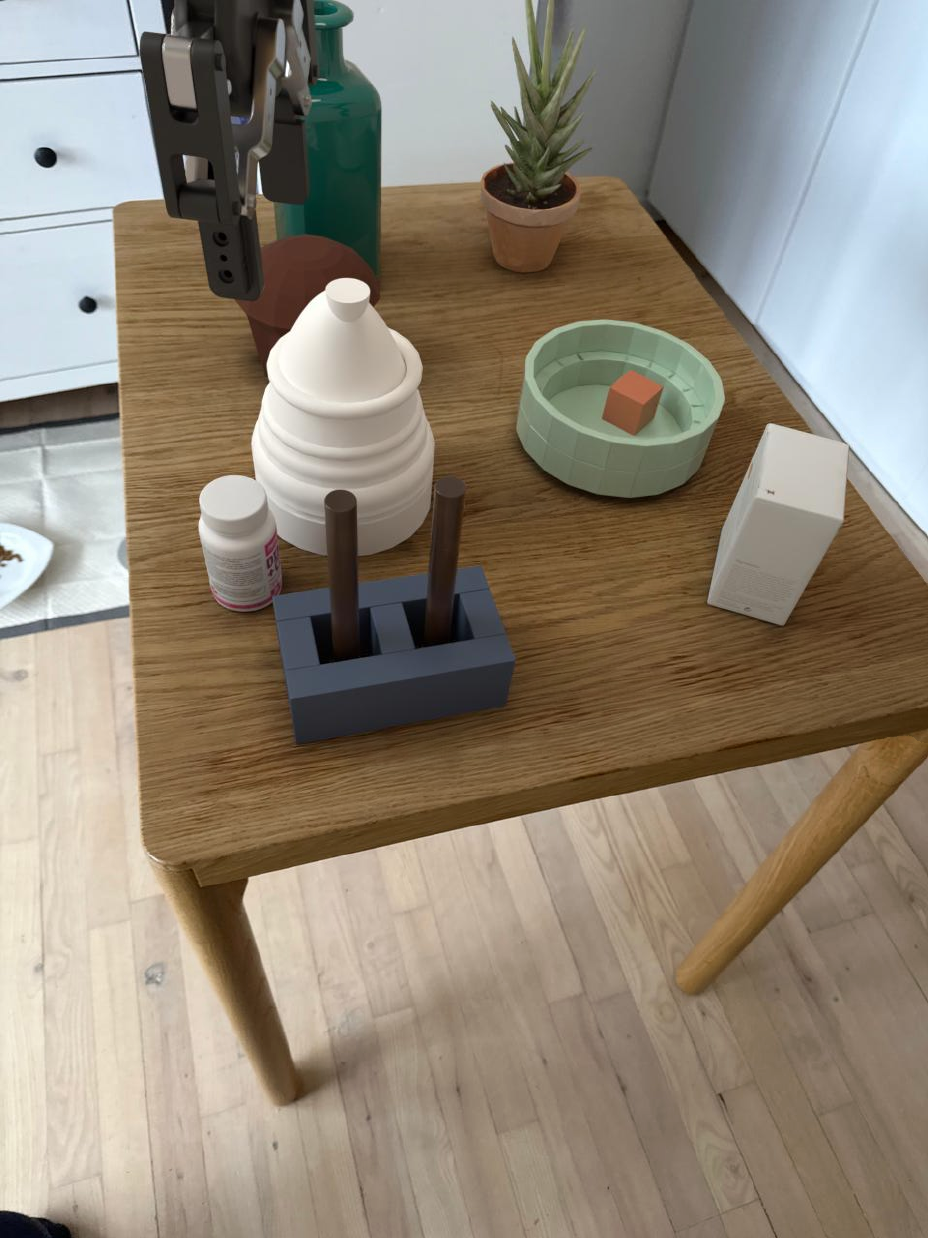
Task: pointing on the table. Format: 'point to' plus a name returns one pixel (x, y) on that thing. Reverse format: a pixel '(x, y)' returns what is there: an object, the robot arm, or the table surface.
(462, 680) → the stand
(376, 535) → the honey pot
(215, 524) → the pill bottle
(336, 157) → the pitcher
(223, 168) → the robot arm
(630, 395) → the block
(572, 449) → the bowl
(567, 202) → the potted plant
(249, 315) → the muffin
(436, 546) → the brown wooden peg
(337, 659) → the brown rod
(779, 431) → the small box
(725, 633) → the table surface
